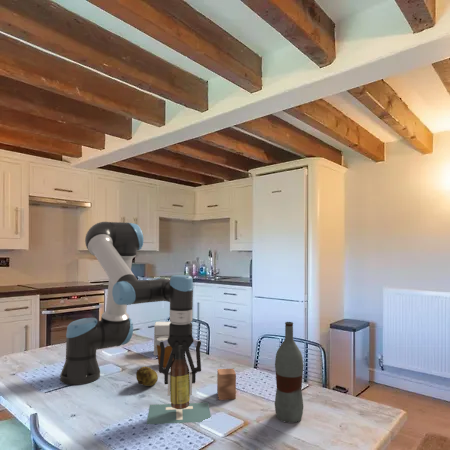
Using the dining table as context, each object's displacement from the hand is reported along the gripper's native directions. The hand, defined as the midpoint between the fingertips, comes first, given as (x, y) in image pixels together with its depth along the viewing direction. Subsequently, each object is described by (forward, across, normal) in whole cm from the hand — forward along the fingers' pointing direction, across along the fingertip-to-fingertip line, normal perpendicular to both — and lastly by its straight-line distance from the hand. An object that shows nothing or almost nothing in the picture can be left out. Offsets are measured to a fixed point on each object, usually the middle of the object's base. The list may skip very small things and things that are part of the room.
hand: (179, 393), depth 123 cm
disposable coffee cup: (+6, -6, +49) cm, 50 cm away
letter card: (+6, 0, 0) cm, 6 cm away
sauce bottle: (+4, 0, 0) cm, 4 cm away
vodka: (+7, +35, -6) cm, 36 cm away
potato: (+7, -12, +25) cm, 29 cm away
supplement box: (+7, -8, +69) cm, 70 cm away
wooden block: (+6, +17, +12) cm, 22 cm away
